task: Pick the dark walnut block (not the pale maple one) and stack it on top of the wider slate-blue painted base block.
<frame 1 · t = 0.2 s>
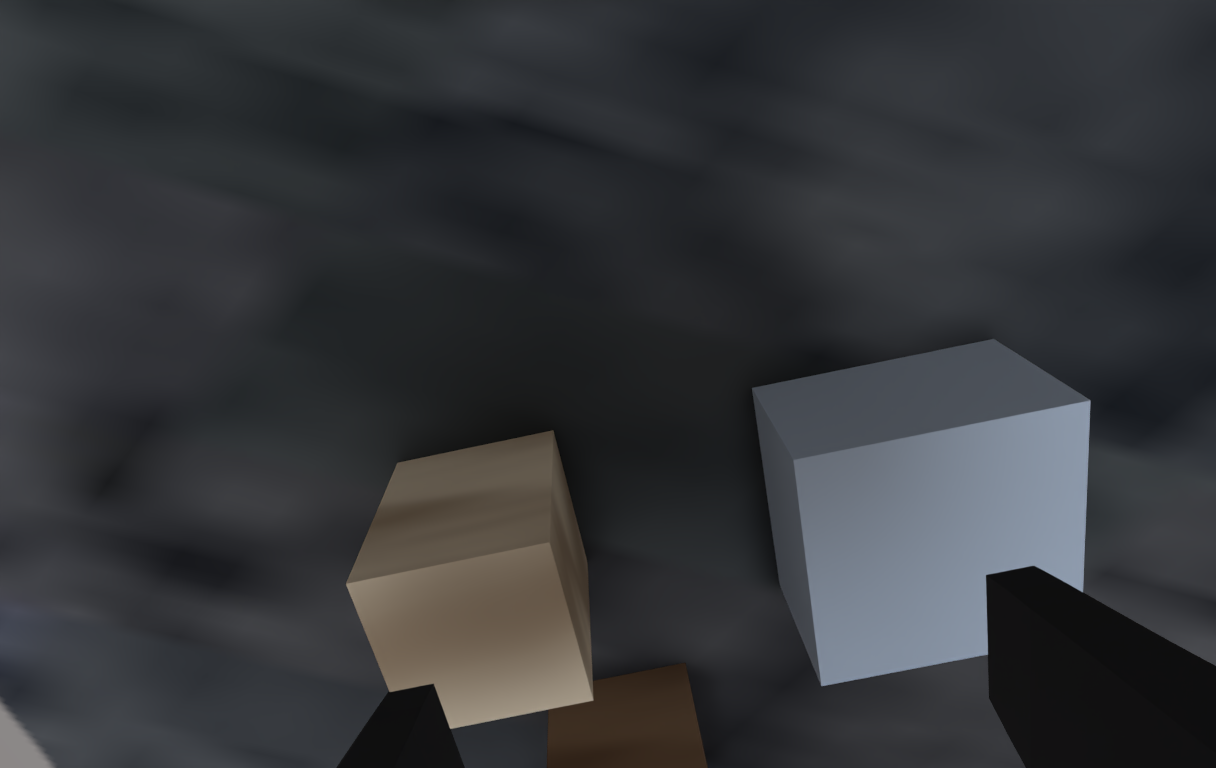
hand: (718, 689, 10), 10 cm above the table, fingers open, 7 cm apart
maple block: (495, 513, 20), on the table
walnut block: (630, 726, 23), on the table
base block: (877, 465, 21), on the table
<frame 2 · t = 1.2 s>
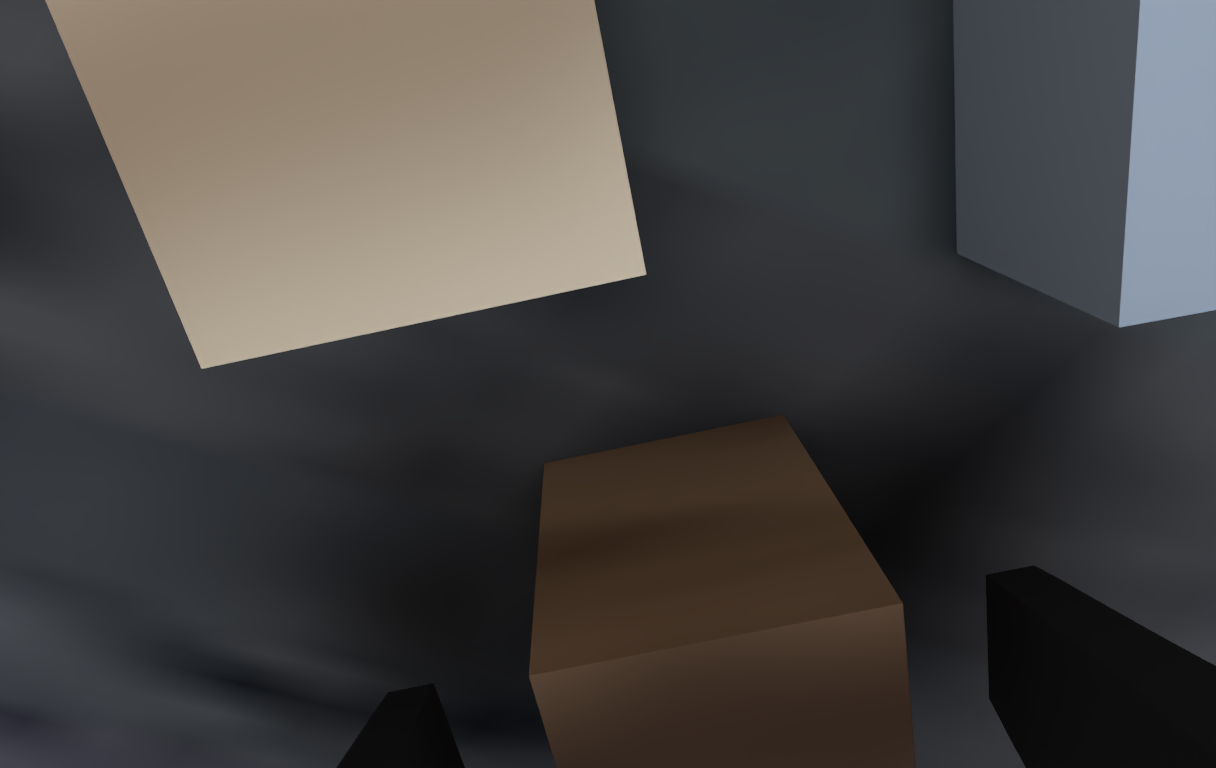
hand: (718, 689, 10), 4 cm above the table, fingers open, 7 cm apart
maple block: (444, 81, 11), on the table
walnut block: (682, 539, 14), on the table
base block: (1160, 2, 11), on the table
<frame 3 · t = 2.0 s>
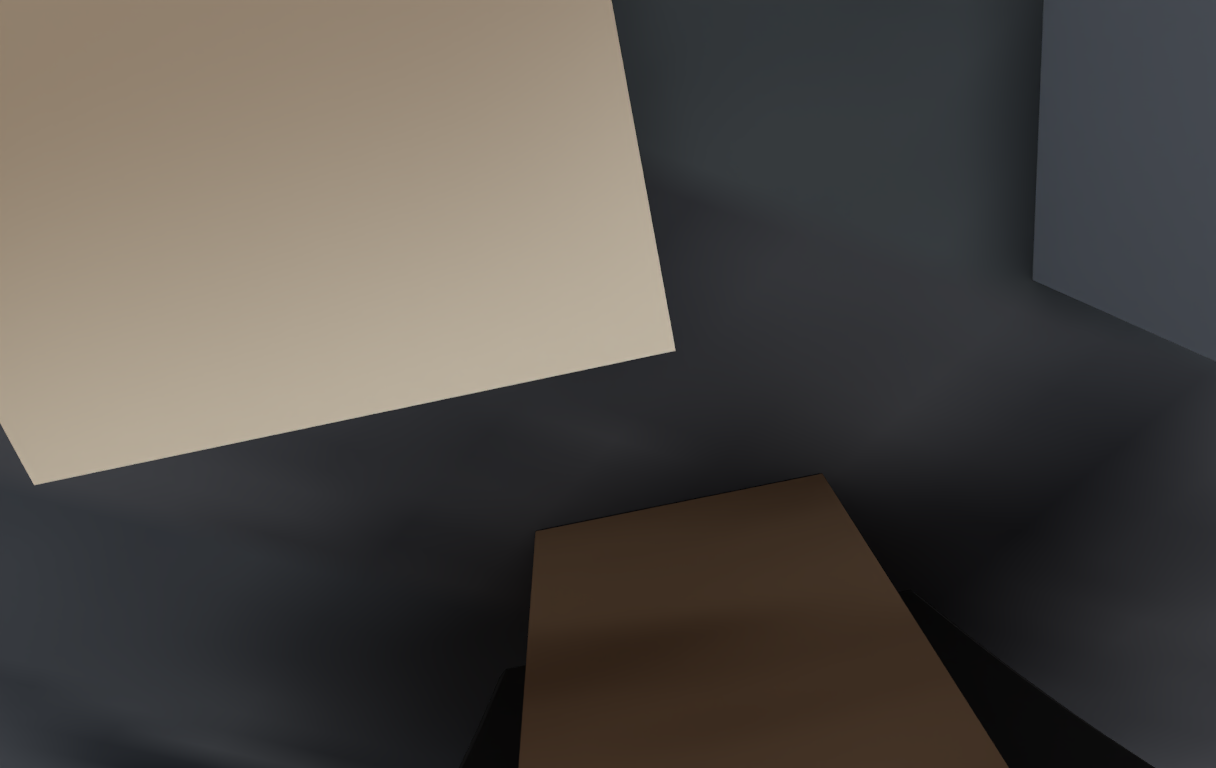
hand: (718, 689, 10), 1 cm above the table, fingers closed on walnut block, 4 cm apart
maple block: (408, 72, 9), on the table
walnut block: (700, 619, 11), on the table, touching gripper
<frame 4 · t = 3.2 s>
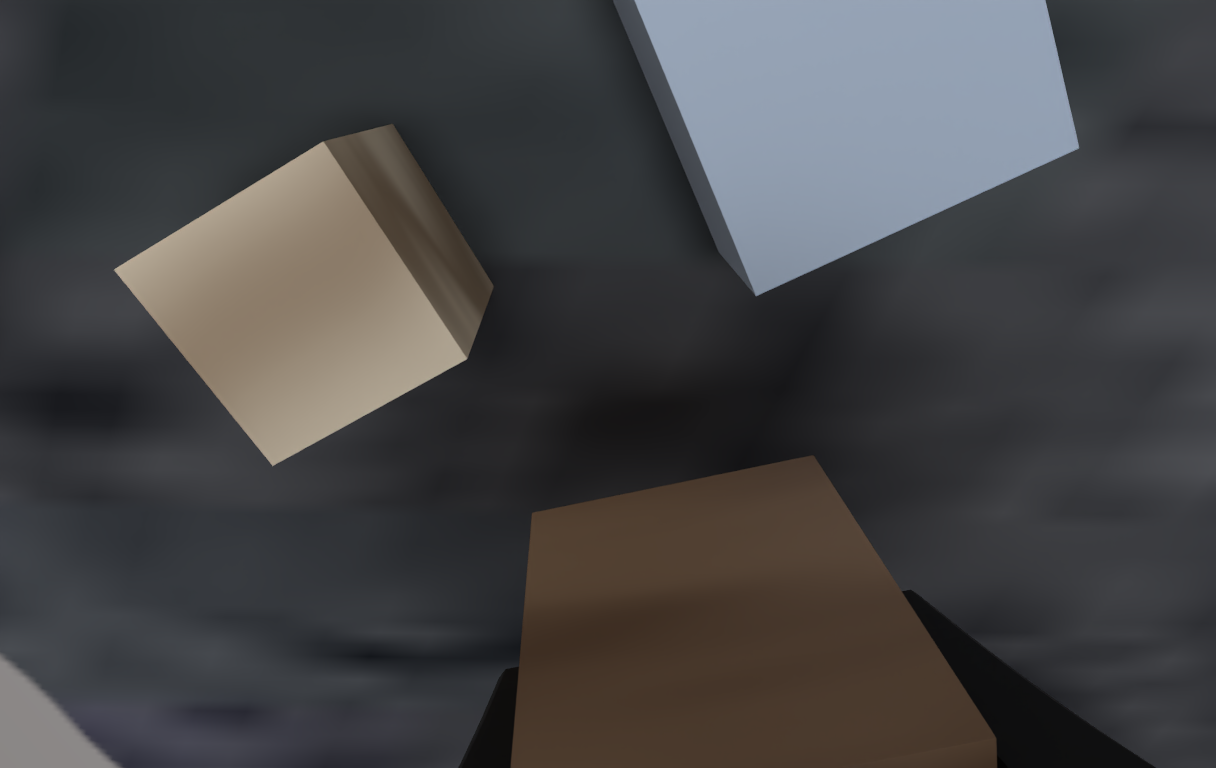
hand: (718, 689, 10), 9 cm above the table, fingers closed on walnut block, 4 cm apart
maple block: (369, 252, 17), on the table
walnut block: (695, 599, 12), point 8 cm above the table, touching gripper
base block: (794, 61, 17), on the table
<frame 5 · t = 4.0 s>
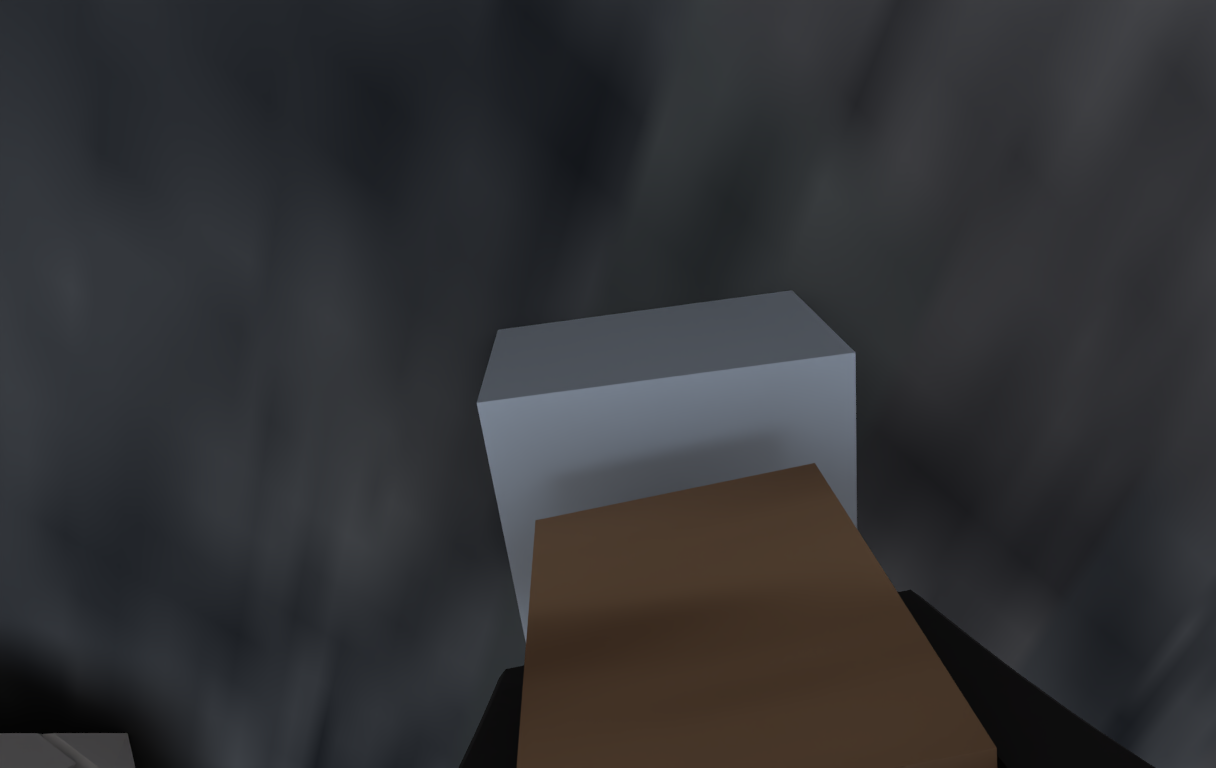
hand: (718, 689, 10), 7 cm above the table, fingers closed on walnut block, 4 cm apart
walnut block: (697, 606, 12), point 6 cm above the table, touching gripper
base block: (658, 438, 17), on the table
when the fingers open (6 cm above the table, at t = 4.5 s): walnut block stays where it is, resting on base block.
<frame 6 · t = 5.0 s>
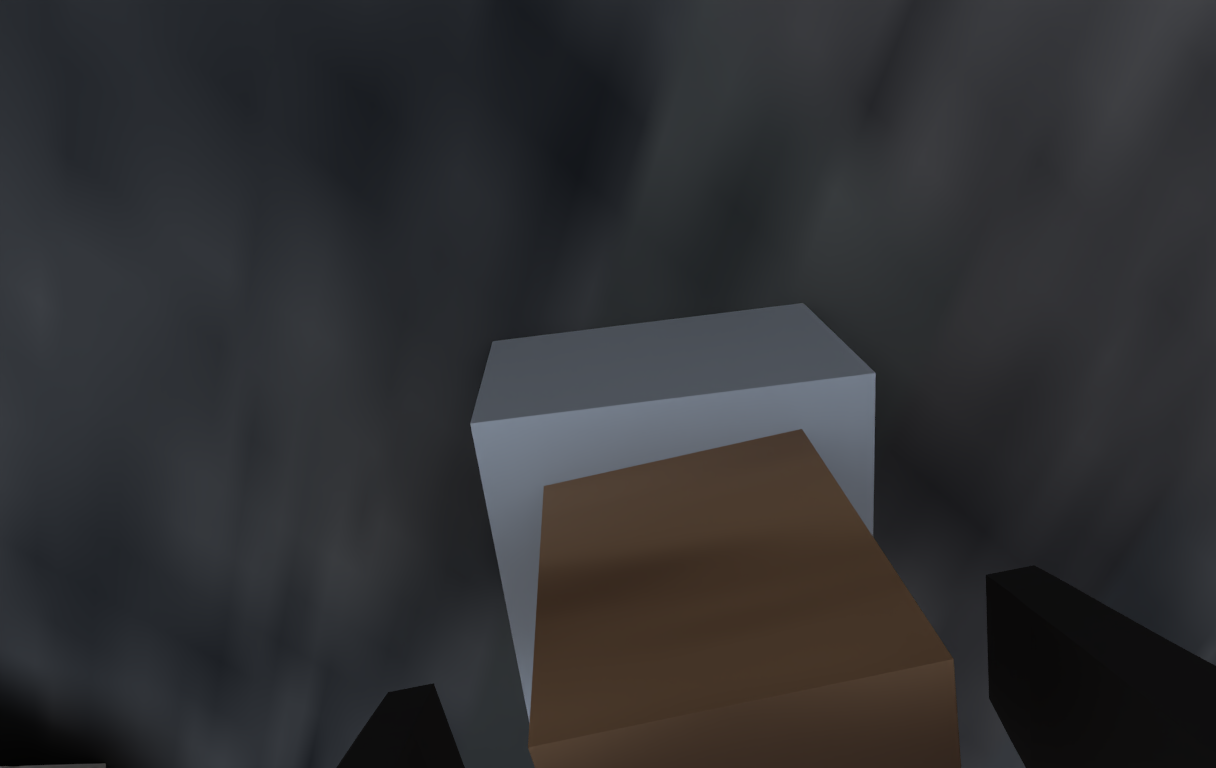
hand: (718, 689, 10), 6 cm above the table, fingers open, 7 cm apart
walnut block: (695, 565, 13), point 4 cm above the table, touching base block
base block: (660, 455, 16), on the table, touching walnut block
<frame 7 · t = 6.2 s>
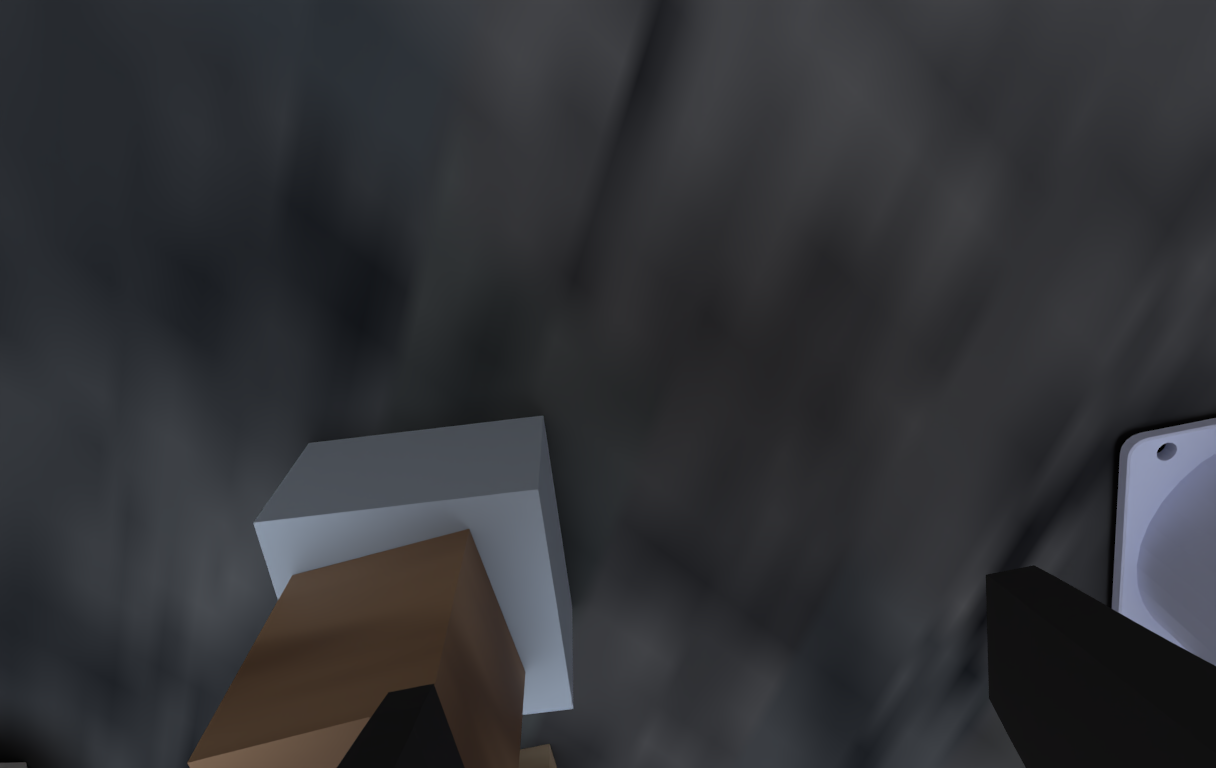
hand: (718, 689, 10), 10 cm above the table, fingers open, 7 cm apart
walnut block: (412, 625, 18), point 4 cm above the table
base block: (448, 525, 21), on the table
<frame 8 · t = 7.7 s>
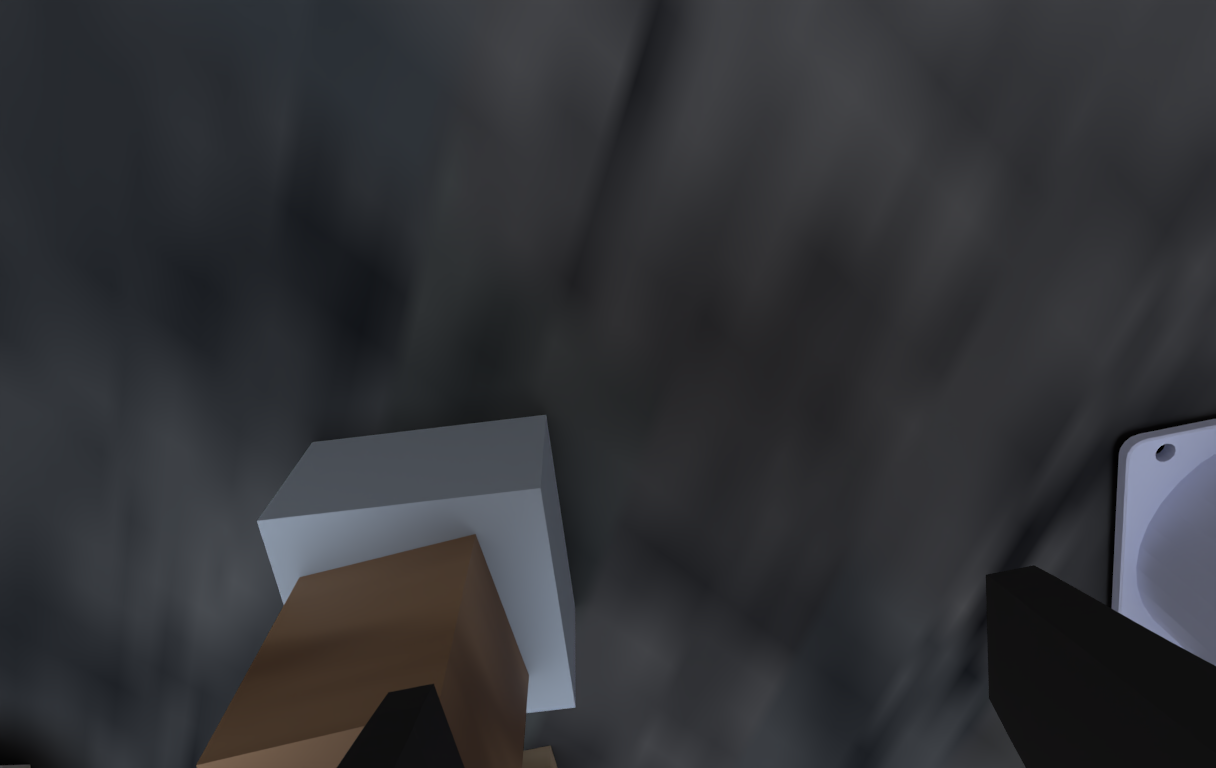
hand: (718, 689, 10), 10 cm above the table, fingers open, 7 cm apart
walnut block: (418, 627, 18), point 4 cm above the table, touching base block
base block: (451, 524, 21), on the table, touching walnut block
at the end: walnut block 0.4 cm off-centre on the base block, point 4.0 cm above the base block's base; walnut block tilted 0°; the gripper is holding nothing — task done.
